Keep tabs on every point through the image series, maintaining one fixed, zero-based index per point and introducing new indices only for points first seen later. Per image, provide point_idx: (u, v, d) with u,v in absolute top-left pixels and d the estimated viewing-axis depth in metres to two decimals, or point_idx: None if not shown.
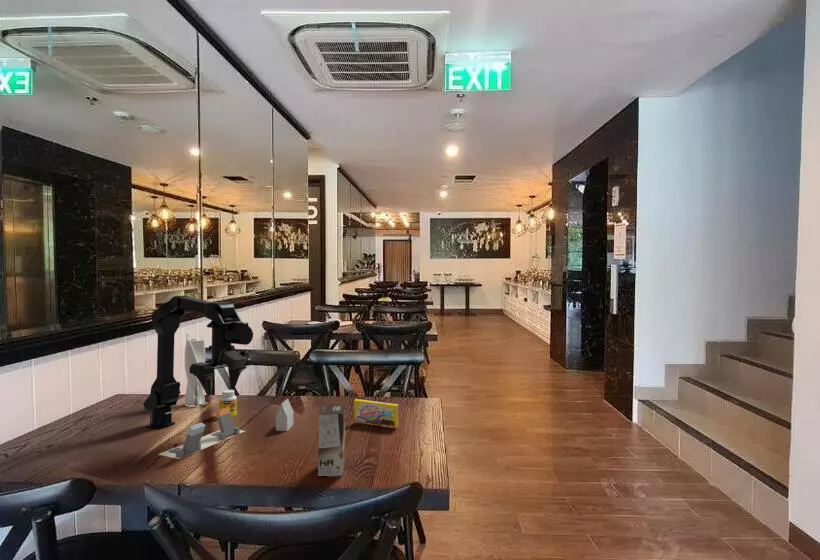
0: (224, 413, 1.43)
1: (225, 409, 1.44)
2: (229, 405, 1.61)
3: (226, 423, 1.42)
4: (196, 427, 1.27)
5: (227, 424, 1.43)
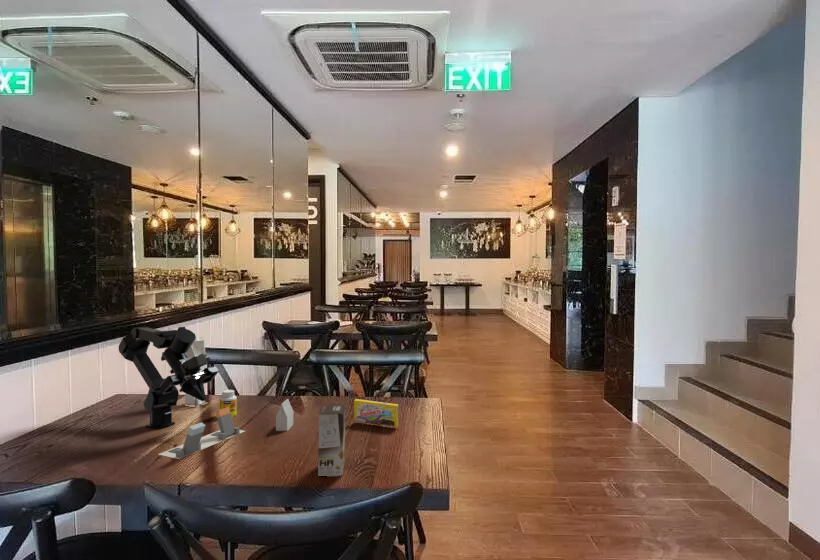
0: (224, 413, 1.43)
1: (225, 409, 1.44)
2: (229, 405, 1.61)
3: (226, 423, 1.42)
4: (196, 427, 1.27)
5: (227, 424, 1.43)
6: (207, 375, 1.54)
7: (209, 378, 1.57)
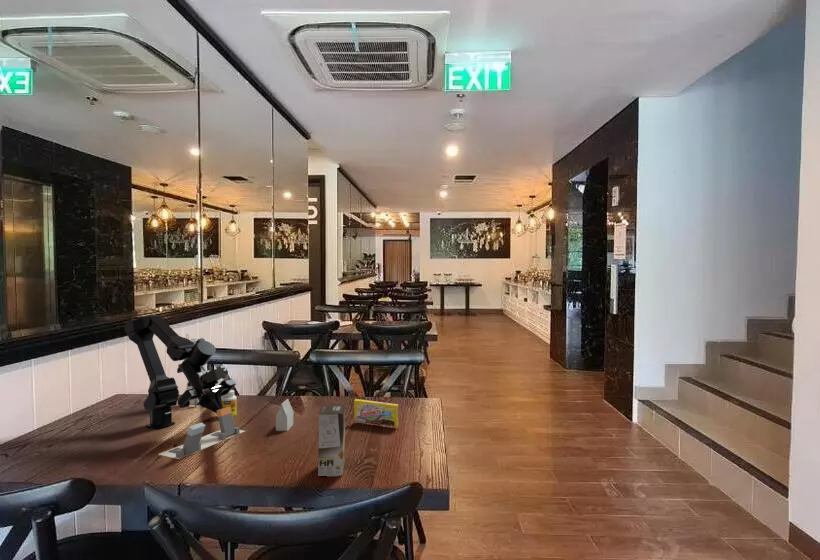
0: (225, 413, 1.43)
1: (226, 409, 1.44)
2: (229, 405, 1.61)
3: (227, 423, 1.42)
4: (196, 427, 1.27)
5: (228, 424, 1.43)
6: (224, 388, 1.52)
7: (226, 390, 1.54)
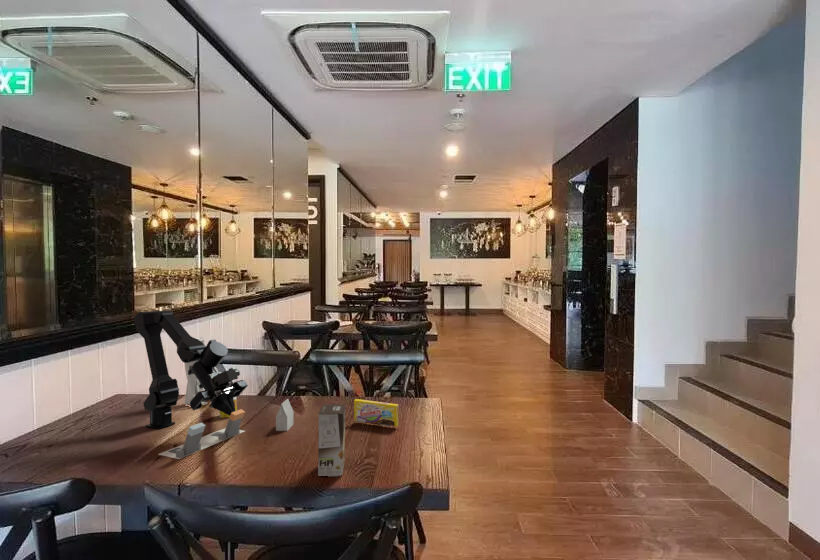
0: (237, 418, 1.41)
1: (240, 414, 1.41)
2: None
3: (234, 426, 1.41)
4: (196, 427, 1.27)
5: (234, 427, 1.42)
6: (236, 389, 1.50)
7: (238, 392, 1.52)
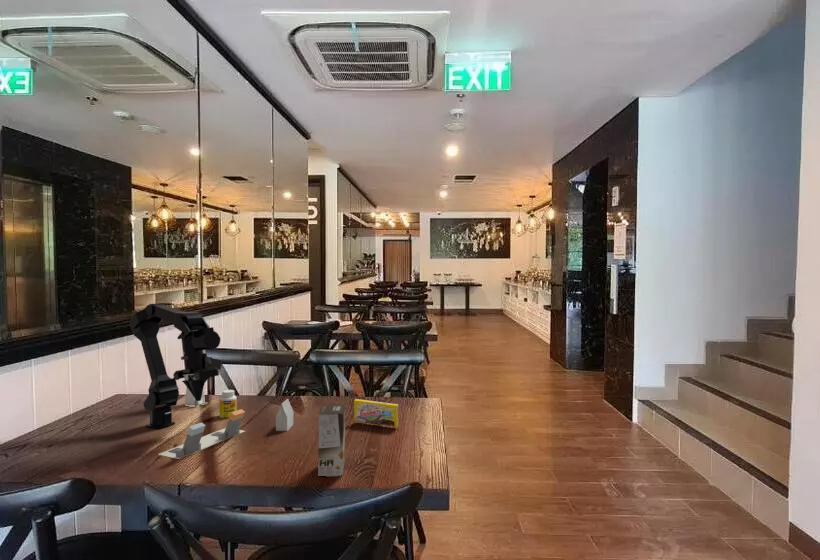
0: (237, 418, 1.41)
1: (240, 414, 1.41)
2: (229, 405, 1.61)
3: (234, 427, 1.41)
4: (196, 427, 1.27)
5: (234, 427, 1.42)
6: None
7: None
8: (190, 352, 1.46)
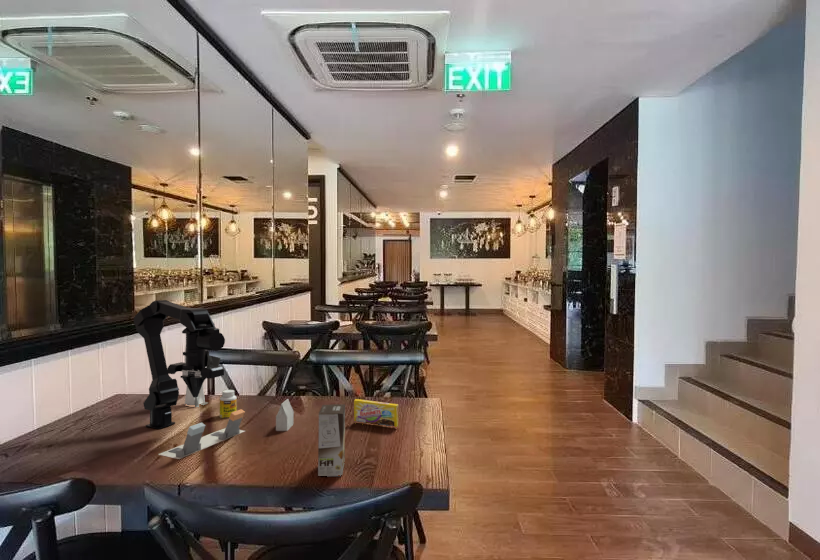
0: (237, 418, 1.41)
1: (240, 414, 1.41)
2: (229, 405, 1.61)
3: (234, 427, 1.41)
4: (196, 427, 1.27)
5: (234, 427, 1.42)
6: None
7: None
8: (196, 349, 1.45)
